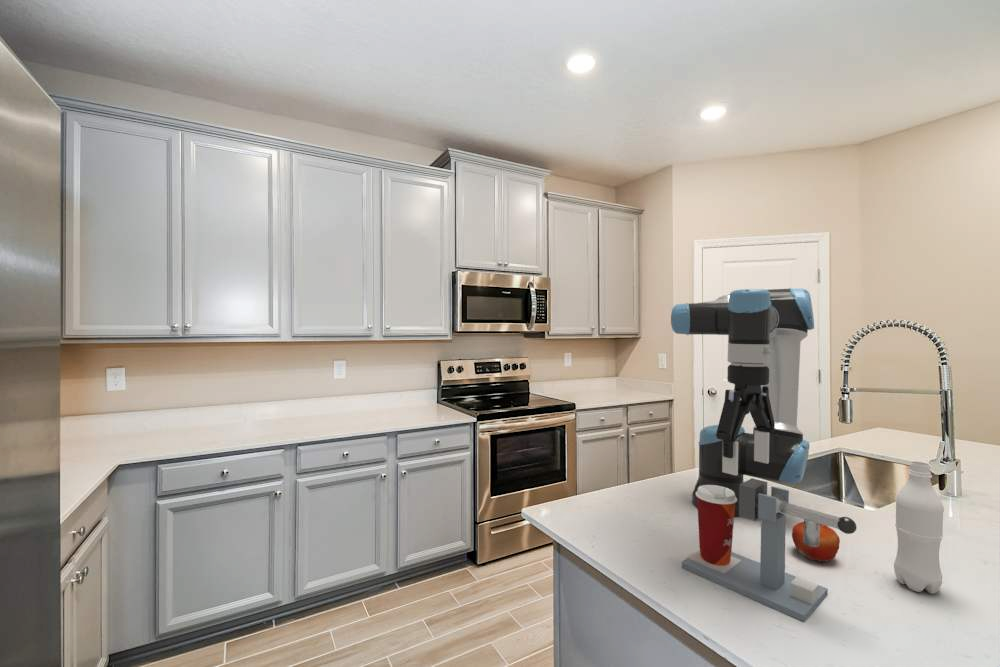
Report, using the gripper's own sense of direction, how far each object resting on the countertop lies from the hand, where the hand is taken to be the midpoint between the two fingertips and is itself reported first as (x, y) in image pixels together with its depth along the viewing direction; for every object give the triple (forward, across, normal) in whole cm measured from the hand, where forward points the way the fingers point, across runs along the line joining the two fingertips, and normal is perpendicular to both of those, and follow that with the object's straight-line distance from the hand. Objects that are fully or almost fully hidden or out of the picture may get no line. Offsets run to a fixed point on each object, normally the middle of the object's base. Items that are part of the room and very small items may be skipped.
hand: (746, 467), depth 93 cm
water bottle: (+23, +26, -22) cm, 41 cm away
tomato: (+23, +23, -5) cm, 33 cm away
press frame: (+23, +1, -1) cm, 23 cm away
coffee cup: (+22, 0, +6) cm, 23 cm away
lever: (+12, +1, -9) cm, 15 cm away
